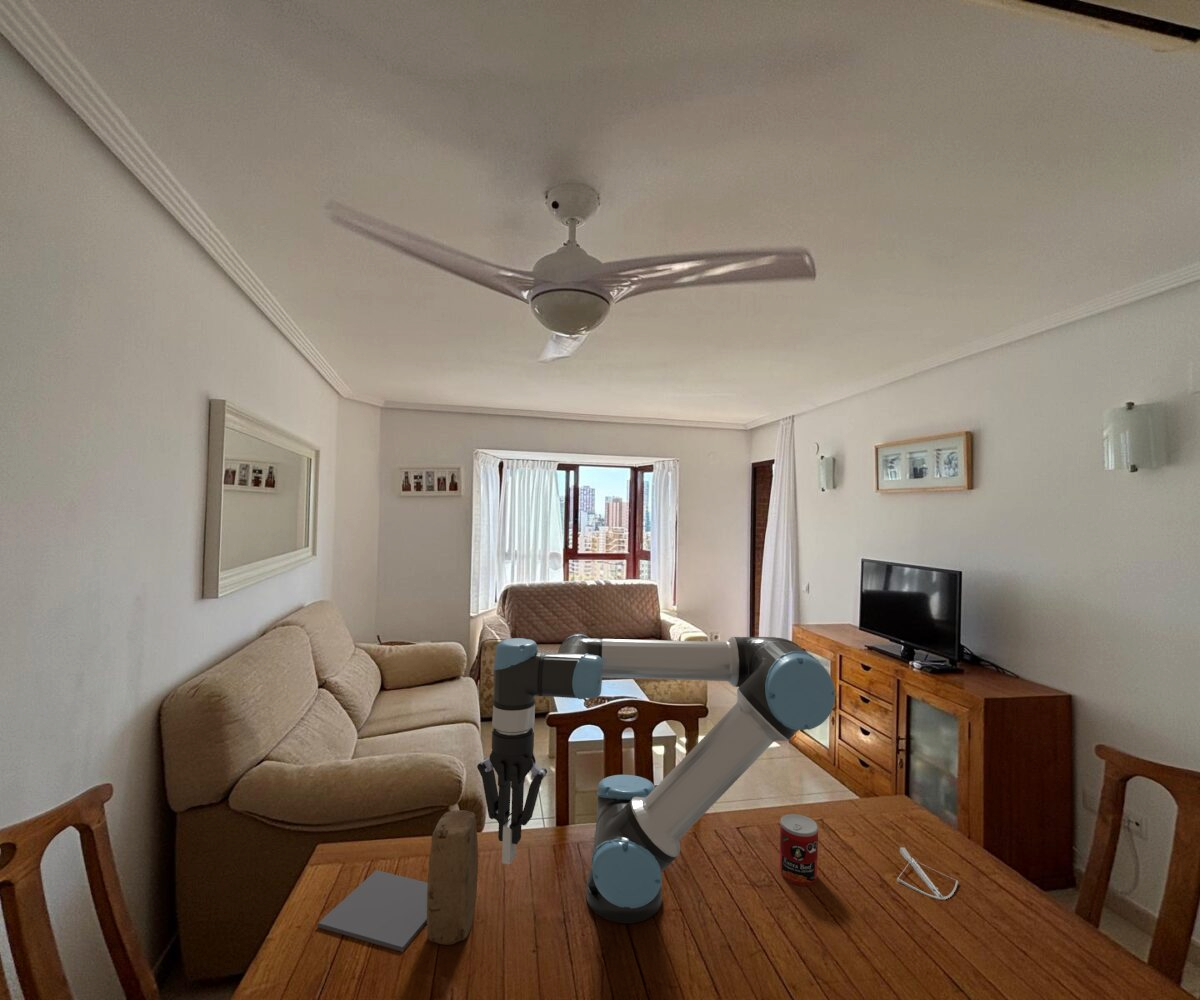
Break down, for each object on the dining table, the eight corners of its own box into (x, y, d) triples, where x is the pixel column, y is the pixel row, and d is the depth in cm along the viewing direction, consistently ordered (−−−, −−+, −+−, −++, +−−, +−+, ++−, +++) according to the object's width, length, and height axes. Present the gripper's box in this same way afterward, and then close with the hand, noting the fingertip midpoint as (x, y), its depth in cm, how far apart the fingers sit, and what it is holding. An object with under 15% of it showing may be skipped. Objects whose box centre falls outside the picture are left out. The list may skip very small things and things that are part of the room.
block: (463, 951, 99) (467, 835, 99) (421, 947, 99) (425, 832, 100) (480, 907, 110) (483, 803, 110) (443, 904, 110) (446, 801, 111)
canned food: (778, 880, 120) (779, 828, 120) (781, 859, 127) (782, 810, 128) (816, 890, 117) (817, 837, 117) (817, 868, 125) (818, 818, 125)
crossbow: (973, 907, 115) (973, 897, 115) (910, 904, 116) (910, 895, 116) (929, 854, 131) (930, 846, 131) (874, 852, 132) (874, 843, 132)
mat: (452, 892, 114) (452, 888, 114) (402, 951, 98) (402, 947, 98) (376, 873, 119) (376, 870, 119) (318, 927, 103) (318, 922, 103)
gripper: (554, 724, 104) (550, 854, 103) (490, 715, 107) (486, 840, 107) (539, 740, 97) (534, 880, 96) (470, 729, 100) (465, 864, 100)
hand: (508, 859), depth 102 cm, fingers closed
